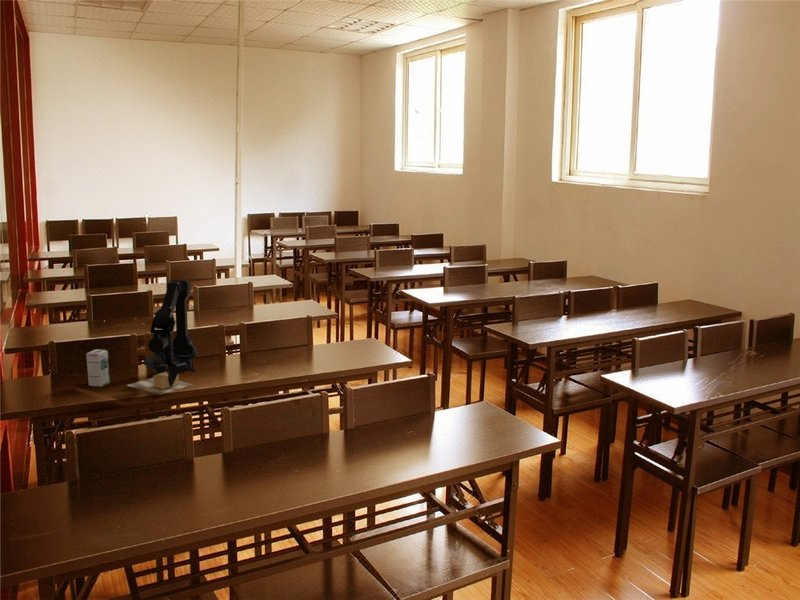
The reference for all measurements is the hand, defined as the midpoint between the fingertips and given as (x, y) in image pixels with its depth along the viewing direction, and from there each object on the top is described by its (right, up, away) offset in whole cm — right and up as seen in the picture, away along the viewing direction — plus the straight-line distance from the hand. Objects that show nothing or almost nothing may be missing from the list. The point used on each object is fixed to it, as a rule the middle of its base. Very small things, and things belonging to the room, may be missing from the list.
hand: (166, 384), depth 279 cm
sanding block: (0, -1, 0) cm, 1 cm away
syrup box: (-27, -1, +2) cm, 27 cm away
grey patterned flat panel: (-3, -1, +2) cm, 4 cm away
